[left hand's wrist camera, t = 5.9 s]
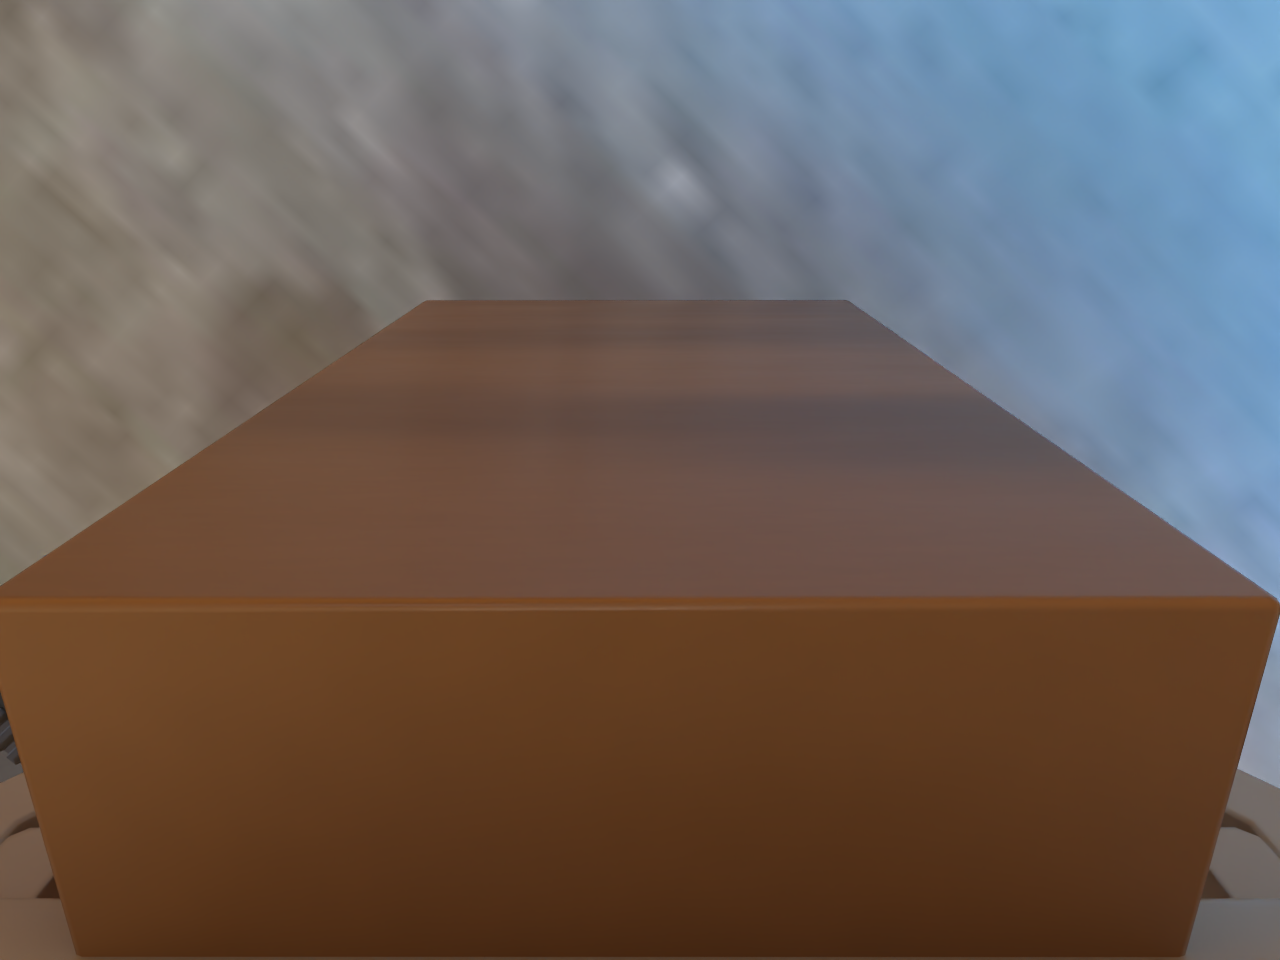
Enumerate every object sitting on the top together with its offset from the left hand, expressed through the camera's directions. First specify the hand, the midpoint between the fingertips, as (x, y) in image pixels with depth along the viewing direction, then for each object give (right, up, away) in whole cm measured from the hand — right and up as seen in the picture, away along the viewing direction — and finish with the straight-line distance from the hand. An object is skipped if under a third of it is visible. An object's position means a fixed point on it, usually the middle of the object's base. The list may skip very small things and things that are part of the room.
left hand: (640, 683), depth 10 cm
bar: (0, -8, +7) cm, 10 cm away
